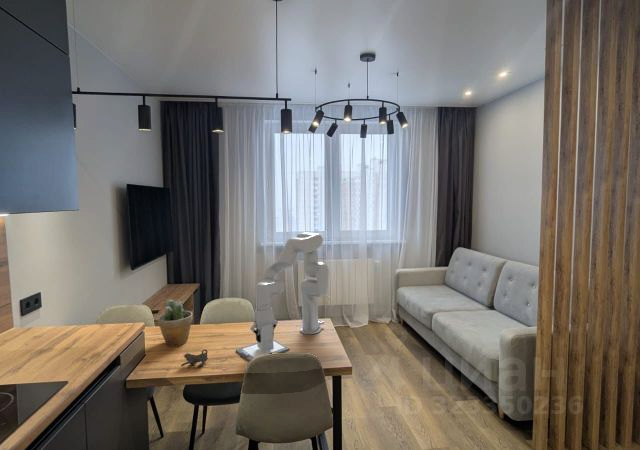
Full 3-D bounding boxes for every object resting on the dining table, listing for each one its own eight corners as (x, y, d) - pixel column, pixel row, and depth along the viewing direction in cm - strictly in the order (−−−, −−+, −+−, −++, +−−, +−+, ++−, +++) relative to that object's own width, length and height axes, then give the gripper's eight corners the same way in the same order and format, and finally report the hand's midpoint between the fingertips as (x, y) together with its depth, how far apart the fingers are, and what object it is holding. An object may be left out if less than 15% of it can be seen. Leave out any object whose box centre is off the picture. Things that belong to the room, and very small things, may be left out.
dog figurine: (208, 361, 169) (208, 346, 169) (207, 366, 164) (206, 351, 163) (183, 363, 167) (182, 349, 167) (180, 369, 162) (180, 354, 161)
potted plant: (151, 345, 189) (149, 301, 187) (179, 333, 206) (177, 293, 204) (174, 351, 181) (171, 305, 179) (201, 338, 197) (199, 296, 195)
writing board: (271, 339, 193) (271, 336, 193) (289, 350, 180) (289, 346, 179) (235, 351, 180) (235, 347, 179) (252, 363, 166) (252, 359, 166)
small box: (273, 349, 176) (273, 325, 175) (262, 352, 172) (261, 327, 171) (268, 343, 183) (267, 320, 182) (257, 346, 180) (256, 322, 179)
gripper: (274, 301, 184) (275, 333, 185) (245, 308, 173) (246, 342, 175) (281, 304, 178) (283, 337, 180) (252, 311, 167) (253, 346, 169)
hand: (265, 339), depth 177 cm, fingers closed on small box, 6 cm apart
